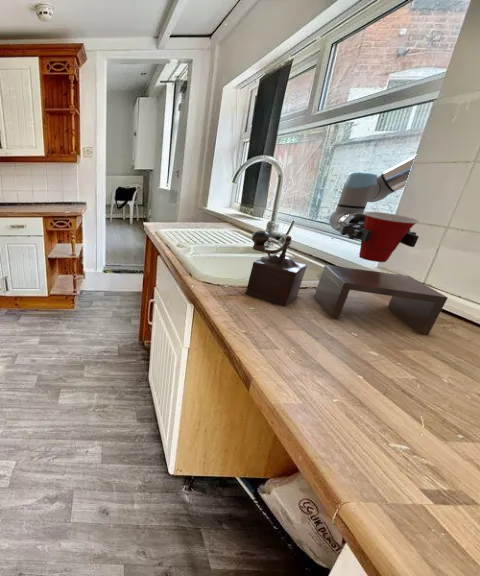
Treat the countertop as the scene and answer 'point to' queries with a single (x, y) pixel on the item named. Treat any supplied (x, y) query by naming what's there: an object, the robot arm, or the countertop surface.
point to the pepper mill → (274, 273)
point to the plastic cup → (384, 234)
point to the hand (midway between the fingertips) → (390, 239)
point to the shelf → (404, 290)
